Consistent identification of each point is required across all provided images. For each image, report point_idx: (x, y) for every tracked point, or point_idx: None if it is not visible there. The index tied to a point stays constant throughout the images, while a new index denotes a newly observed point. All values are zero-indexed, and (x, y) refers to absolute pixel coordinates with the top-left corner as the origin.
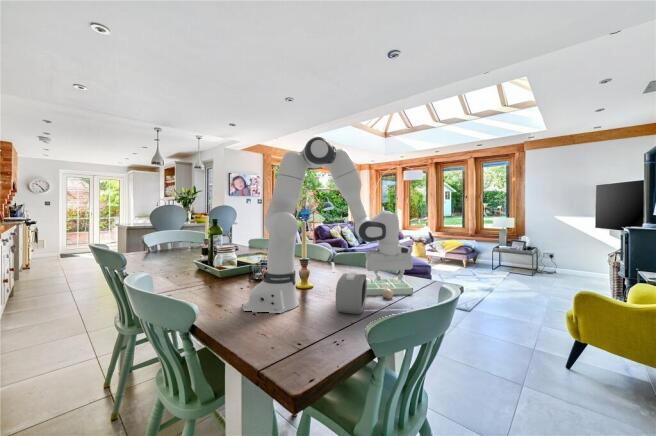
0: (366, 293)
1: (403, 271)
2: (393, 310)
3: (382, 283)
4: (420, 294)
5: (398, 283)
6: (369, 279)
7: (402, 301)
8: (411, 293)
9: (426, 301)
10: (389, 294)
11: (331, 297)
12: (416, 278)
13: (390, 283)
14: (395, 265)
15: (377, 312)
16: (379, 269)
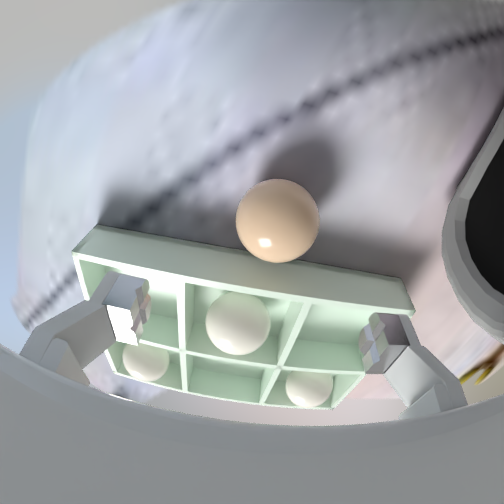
0: (448, 239)
1: (42, 339)
2: (344, 5)
3: (254, 350)
4: (61, 230)
5: (141, 338)
6: (296, 399)
7: (193, 136)
8: (97, 232)
9: (56, 122)
10: (286, 187)
11: None
12: None
13: (188, 350)
14: (131, 493)
15: (450, 32)
16: (452, 423)
